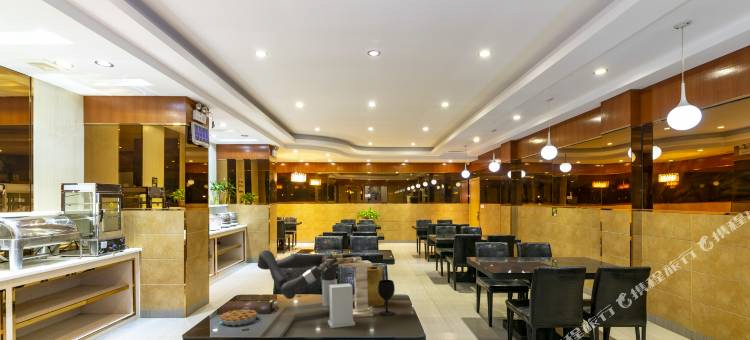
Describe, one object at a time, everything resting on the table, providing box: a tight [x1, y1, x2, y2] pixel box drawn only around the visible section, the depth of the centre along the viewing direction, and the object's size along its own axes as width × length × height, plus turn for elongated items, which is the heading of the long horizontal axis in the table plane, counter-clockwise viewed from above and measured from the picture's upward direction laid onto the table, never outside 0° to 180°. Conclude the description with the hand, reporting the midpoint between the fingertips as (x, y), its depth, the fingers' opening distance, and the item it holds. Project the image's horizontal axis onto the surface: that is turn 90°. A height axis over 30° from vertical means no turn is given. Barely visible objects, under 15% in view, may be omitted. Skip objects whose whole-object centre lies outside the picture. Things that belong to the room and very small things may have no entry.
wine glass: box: [378, 279, 396, 317], centre depth 258 cm, size 10×10×20 cm
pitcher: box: [367, 265, 385, 307], centre depth 282 cm, size 17×19×25 cm
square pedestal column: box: [339, 259, 374, 319], centre depth 258 cm, size 12×18×32 cm, turn 107°
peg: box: [325, 256, 363, 265], centre depth 256 cm, size 22×6×3 cm, turn 107°
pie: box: [219, 308, 259, 327], centre depth 249 cm, size 22×22×5 cm
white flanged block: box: [327, 282, 356, 329], centre depth 239 cm, size 10×14×22 cm
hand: (336, 259), depth 255 cm, fingers closed on peg, 3 cm apart
